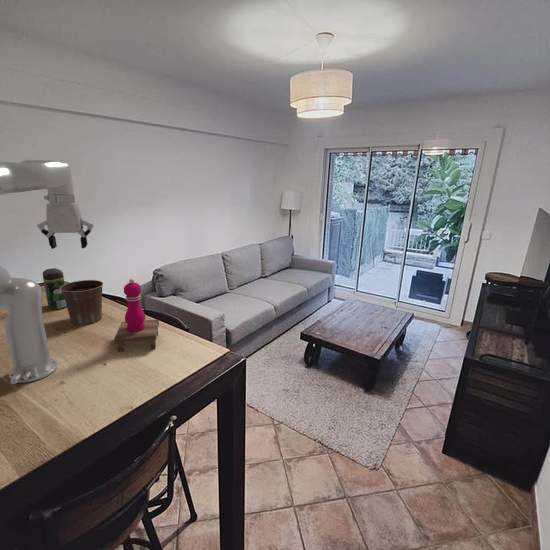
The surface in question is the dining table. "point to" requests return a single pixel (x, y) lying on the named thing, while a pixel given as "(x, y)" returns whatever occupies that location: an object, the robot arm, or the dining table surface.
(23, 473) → the dining table surface
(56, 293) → the coffee jar
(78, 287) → the plant pot
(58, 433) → the dining table surface
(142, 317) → the pepper mill
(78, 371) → the dining table surface
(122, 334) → the wooden stool
